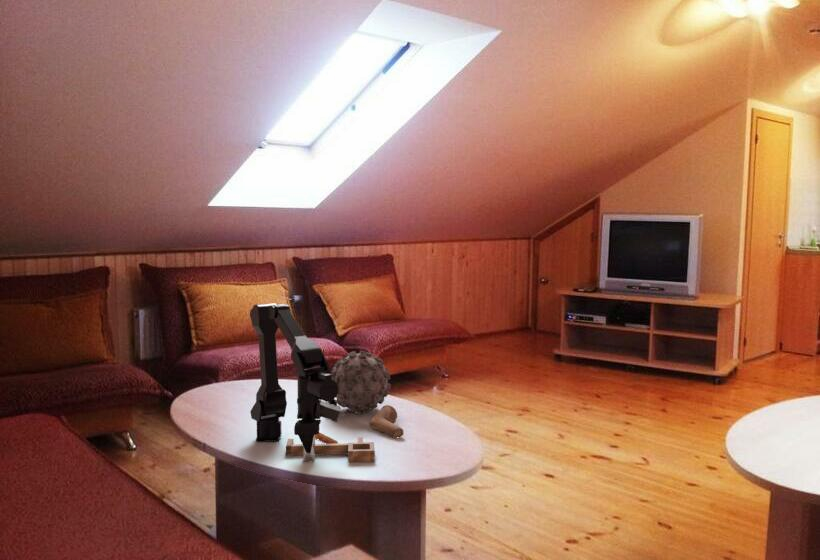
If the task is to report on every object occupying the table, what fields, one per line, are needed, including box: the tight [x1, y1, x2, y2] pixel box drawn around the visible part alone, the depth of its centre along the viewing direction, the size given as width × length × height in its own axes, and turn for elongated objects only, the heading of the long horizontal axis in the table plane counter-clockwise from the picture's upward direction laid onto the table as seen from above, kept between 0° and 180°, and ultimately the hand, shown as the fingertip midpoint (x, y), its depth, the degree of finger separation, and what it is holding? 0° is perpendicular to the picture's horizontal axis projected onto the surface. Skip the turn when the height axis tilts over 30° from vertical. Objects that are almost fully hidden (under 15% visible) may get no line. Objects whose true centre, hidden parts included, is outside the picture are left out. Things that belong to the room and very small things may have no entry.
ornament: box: [330, 350, 391, 414], centre depth 237 cm, size 20×20×20 cm
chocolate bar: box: [315, 431, 339, 444], centre depth 206 cm, size 3×12×2 cm, turn 37°
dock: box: [285, 436, 376, 463], centre depth 195 cm, size 24×13×3 cm, turn 95°
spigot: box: [302, 435, 316, 463], centre depth 190 cm, size 3×3×8 cm
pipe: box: [368, 404, 405, 439], centre depth 217 cm, size 6×17×10 cm
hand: (309, 450), depth 191 cm, fingers closed on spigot, 3 cm apart
